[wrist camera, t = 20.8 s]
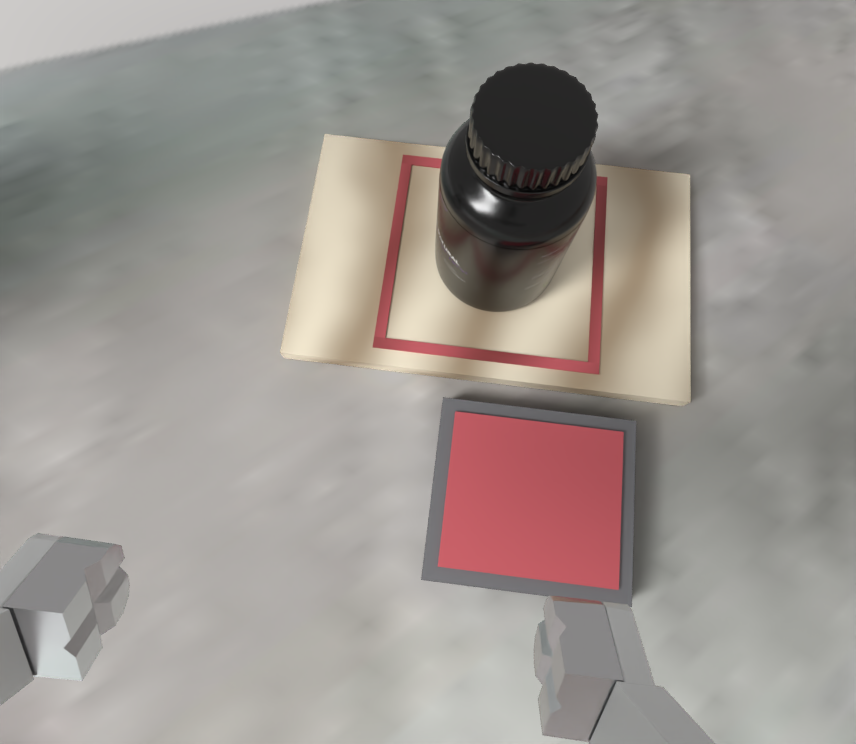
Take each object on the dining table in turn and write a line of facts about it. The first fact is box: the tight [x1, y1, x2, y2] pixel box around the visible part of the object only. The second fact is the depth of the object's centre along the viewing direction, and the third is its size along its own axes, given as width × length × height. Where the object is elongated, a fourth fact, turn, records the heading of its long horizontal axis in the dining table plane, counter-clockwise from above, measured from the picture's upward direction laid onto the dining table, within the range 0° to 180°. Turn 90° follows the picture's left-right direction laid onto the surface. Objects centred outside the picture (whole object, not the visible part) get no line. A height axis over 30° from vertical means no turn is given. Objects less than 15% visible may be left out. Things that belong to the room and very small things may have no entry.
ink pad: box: [421, 397, 636, 607], centre depth 30 cm, size 10×9×2 cm
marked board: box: [280, 134, 691, 406], centre depth 34 cm, size 22×14×1 cm, turn 83°
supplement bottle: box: [435, 63, 598, 312], centre depth 27 cm, size 7×7×12 cm
